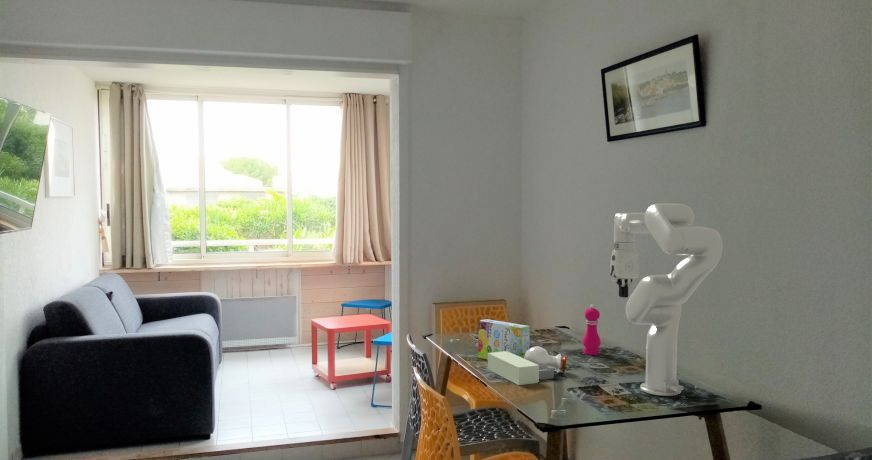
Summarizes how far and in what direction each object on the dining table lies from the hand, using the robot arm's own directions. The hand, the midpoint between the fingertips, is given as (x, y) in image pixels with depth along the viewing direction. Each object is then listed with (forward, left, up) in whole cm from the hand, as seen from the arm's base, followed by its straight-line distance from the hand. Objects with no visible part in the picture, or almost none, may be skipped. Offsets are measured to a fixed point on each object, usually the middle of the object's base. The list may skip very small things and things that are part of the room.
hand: (623, 296), depth 232 cm
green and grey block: (+9, +37, -27) cm, 47 cm away
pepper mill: (+26, -6, -27) cm, 38 cm away
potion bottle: (+9, +28, -27) cm, 40 cm away
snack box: (+28, +34, -27) cm, 52 cm away
